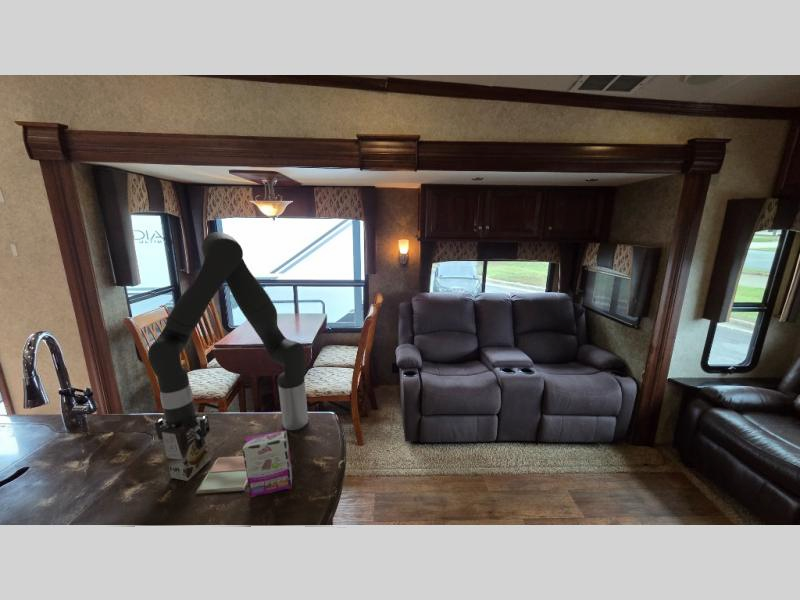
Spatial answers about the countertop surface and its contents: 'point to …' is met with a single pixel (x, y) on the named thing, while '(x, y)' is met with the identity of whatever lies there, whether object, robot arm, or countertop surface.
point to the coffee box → (184, 452)
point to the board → (225, 476)
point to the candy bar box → (267, 463)
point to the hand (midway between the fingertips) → (187, 448)
